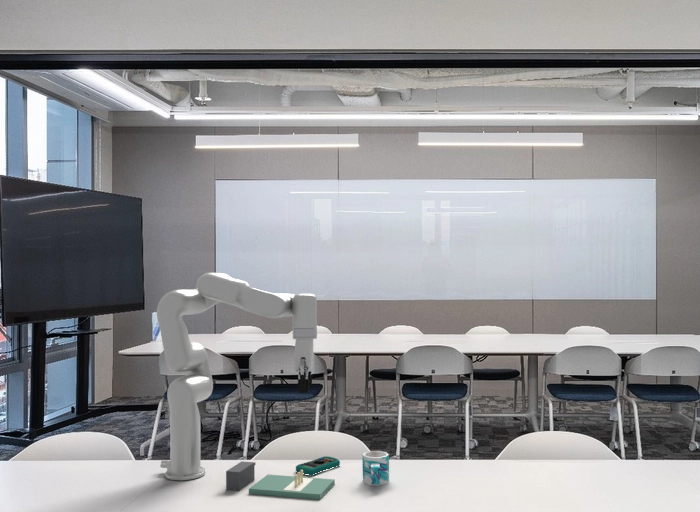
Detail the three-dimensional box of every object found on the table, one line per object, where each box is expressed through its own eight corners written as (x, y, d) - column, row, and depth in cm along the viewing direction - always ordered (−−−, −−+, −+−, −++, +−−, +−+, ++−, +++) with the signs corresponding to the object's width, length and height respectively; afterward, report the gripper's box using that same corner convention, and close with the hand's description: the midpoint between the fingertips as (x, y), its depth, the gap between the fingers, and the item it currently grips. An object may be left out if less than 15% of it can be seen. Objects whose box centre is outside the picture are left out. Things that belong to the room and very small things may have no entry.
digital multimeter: (341, 467, 208) (341, 458, 208) (310, 478, 197) (310, 468, 197) (325, 463, 213) (325, 454, 213) (294, 473, 201) (294, 464, 201)
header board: (248, 493, 181) (248, 476, 181) (267, 479, 194) (267, 463, 194) (320, 499, 175) (319, 481, 175) (334, 484, 188) (334, 467, 189)
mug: (389, 477, 195) (388, 450, 195) (389, 489, 183) (389, 461, 183) (363, 477, 195) (362, 450, 196) (361, 489, 183) (361, 461, 184)
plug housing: (226, 489, 185) (226, 471, 185) (245, 476, 198) (245, 458, 198) (239, 490, 183) (239, 472, 184) (258, 477, 197) (258, 459, 197)
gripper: (296, 331, 199) (296, 385, 198) (288, 336, 182) (289, 394, 181) (319, 331, 199) (319, 385, 198) (314, 335, 181) (314, 394, 181)
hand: (305, 389), depth 189 cm, fingers open, 9 cm apart
